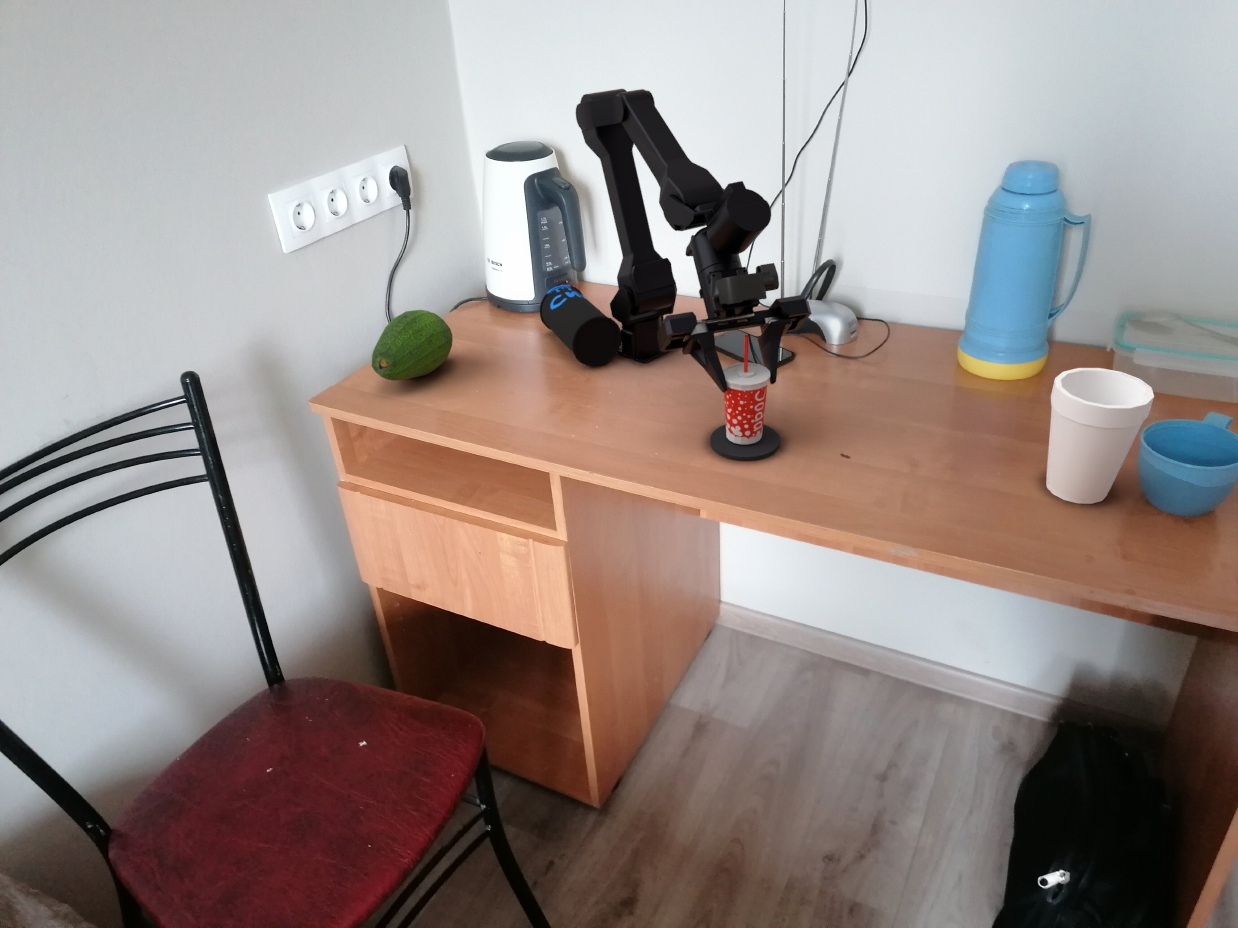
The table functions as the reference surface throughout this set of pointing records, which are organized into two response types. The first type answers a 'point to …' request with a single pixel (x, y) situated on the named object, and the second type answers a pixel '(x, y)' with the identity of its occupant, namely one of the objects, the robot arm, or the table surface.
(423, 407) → the table surface
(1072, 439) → the foam cup
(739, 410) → the beverage cup
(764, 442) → the coaster
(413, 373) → the fruit
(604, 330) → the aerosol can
